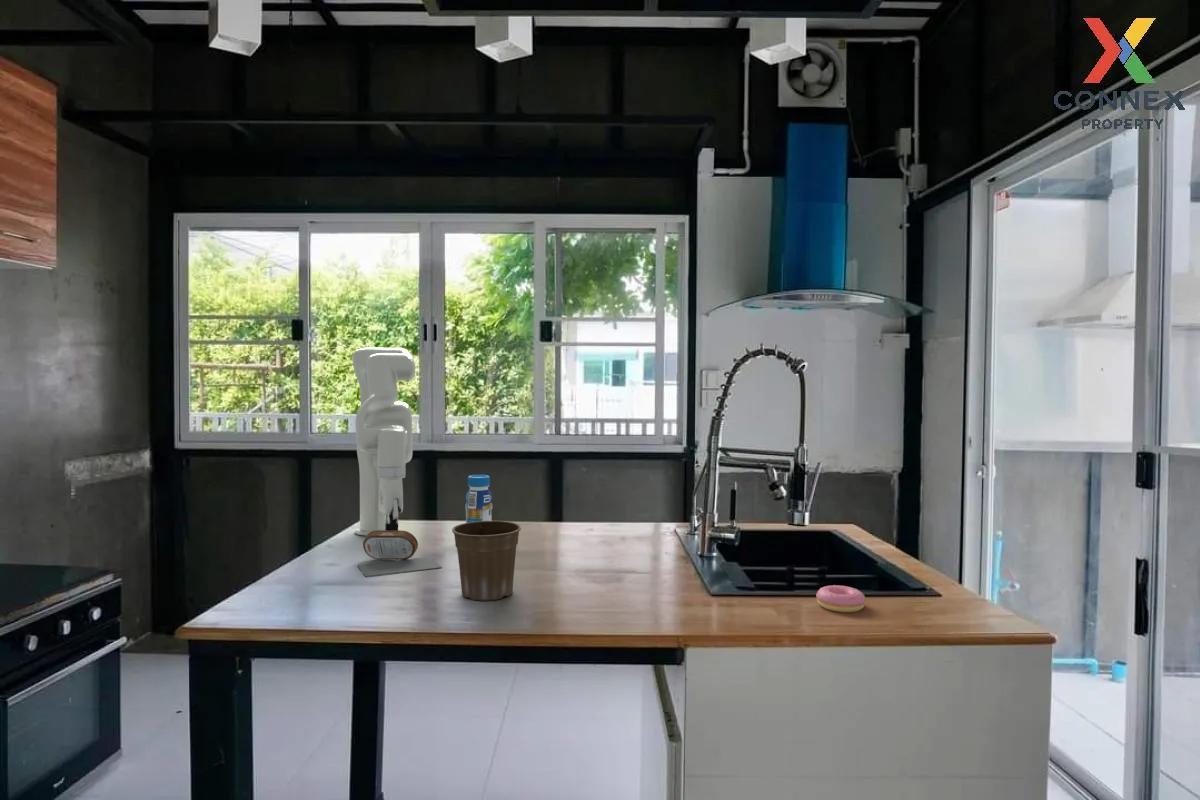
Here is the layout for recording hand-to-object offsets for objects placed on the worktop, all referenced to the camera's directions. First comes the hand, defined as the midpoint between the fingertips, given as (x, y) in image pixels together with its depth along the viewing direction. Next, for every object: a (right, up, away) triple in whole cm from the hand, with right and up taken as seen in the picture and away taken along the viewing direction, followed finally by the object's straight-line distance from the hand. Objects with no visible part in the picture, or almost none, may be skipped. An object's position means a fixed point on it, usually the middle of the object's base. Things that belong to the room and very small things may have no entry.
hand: (391, 537), depth 211 cm
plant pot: (+31, -8, -30) cm, 44 cm away
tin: (0, -6, -1) cm, 6 cm away
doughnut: (+114, -10, -37) cm, 120 cm away
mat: (+4, -7, -8) cm, 11 cm away
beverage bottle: (+20, -6, +26) cm, 33 cm away
